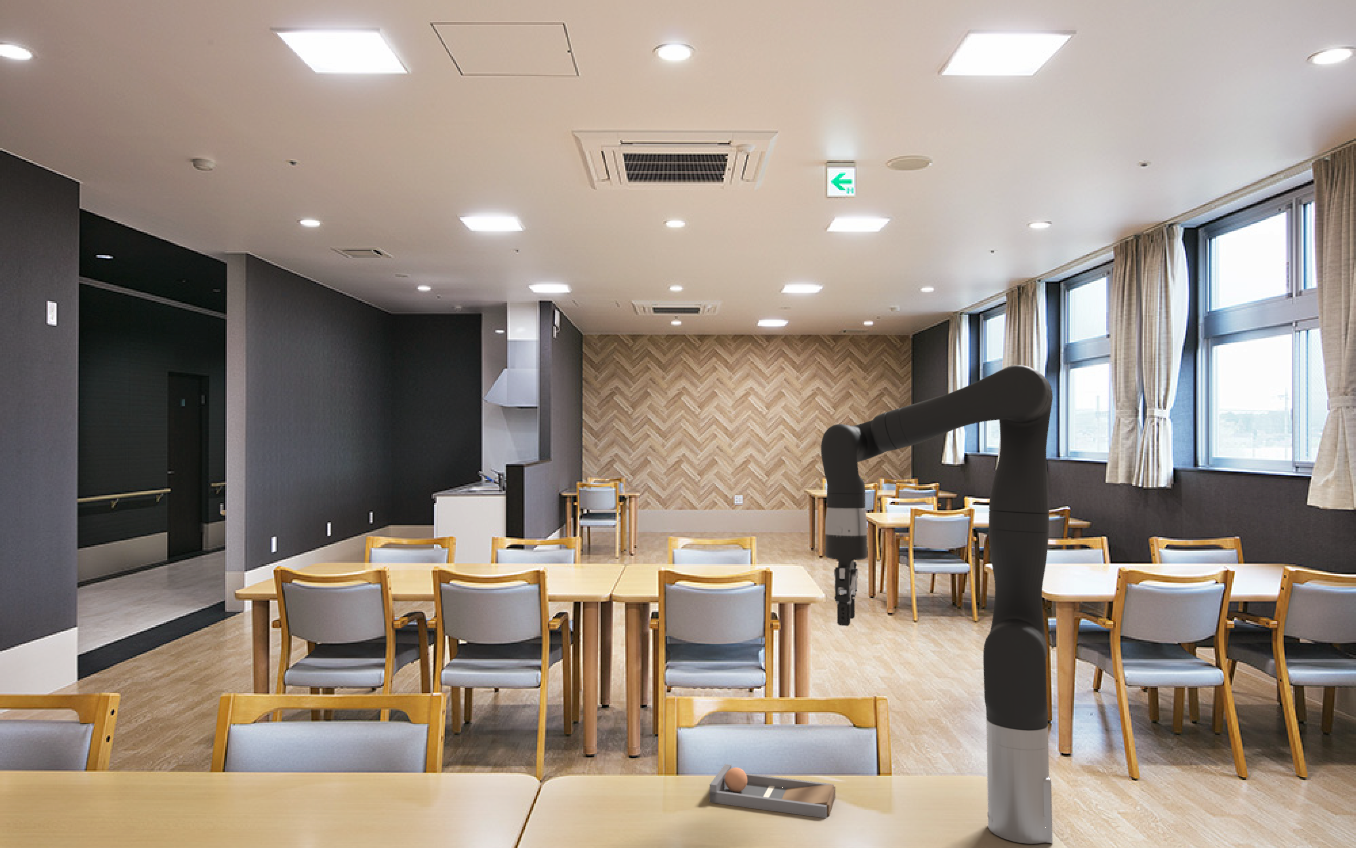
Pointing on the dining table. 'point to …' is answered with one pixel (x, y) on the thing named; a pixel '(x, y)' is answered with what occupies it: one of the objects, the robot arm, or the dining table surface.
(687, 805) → the dining table surface
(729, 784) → the ball
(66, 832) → the dining table surface
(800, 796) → the ramp
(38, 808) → the dining table surface
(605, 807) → the dining table surface
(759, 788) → the lane
